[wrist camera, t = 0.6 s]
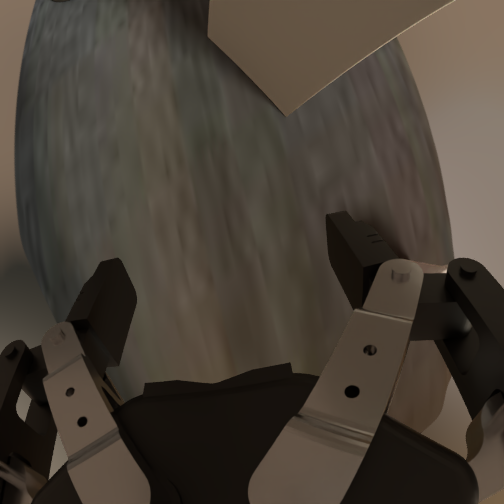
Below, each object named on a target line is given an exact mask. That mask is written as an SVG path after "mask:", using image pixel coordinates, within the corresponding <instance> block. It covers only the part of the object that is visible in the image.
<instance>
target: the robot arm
mask: <svg viewBox="0 0 504 504" xmlns="http://www.w3.org/2000/svg"><path fill="white" fill-rule="evenodd" d="M52 1H55V2H64V1H69V0H52ZM326 231H327V245H328V255H329V260H330V263H331V266H332V268H333V270H334V272H335V274H336V276H337V278H338V280H339V282H340V284H341V286H342V288H343V290H344V292H345V294H346V296H347V298H348V300H349V302H350V304H351V306H352V308H353V310H354V312H353V313H352V316H351V318H350V320H349V322H348V324H347V326H346V328H345V330H344V332H343V334H342V336H341V338H340V340H339V342H338V344H337V346H336V348H335V350H334V352H333V354H332V355H331V357H330V359H329V361H328V363H327V365H326V367H325V369H324V370H323V372H322V374H321V376H320V377H319V376H315V375H310V374H302V373H293V372H292V368H291V363H285V364H280V365H275V366H270V367H264V368H259V369H253V370H250V371H248V372H245V373H243V374H240V375H237V376H235V377H232V378H229V379H226V380H224V381H221V382H218V383H213V384H209V383H199V382H189V381H180V380H174V381H164V382H153V383H145V386H144V392H143V395H140V396H137V397H135V398H133V399H131V400H129V401H127V402H124V401H123V399H122V397H121V396H120V394H119V393H118V391H117V389H116V387H115V386H114V384H113V382H112V381H111V379H110V377H109V376H108V374H107V373H106V372H105V371H106V368H107V367H114V366H119V364H120V360H121V357H122V353H123V349H124V345H125V342H126V338H127V335H128V331H129V328H130V324H131V321H132V318H133V314H134V311H135V308H136V304H137V295H136V291H135V289H134V286H133V284H132V282H131V280H130V278H129V276H128V274H127V271H126V269H125V267H124V265H123V263H122V261H121V260H120V259H119V258H114V259H110V260H106V261H102V262H100V264H99V265H98V267H97V269H96V271H95V273H94V275H93V276H92V277H91V278H90V279H89V280H88V281H87V282H86V283H85V284H84V286H83V288H82V290H81V291H80V294H79V295H78V297H77V299H76V302H75V303H74V305H73V307H72V309H71V311H70V313H69V315H68V317H67V319H66V321H65V322H61V323H58V324H56V325H54V326H53V327H51V328H50V329H49V330H48V331H47V332H46V333H45V335H44V336H43V338H42V341H41V345H40V346H37V347H35V348H32V349H29V348H28V347H27V345H26V344H25V343H24V342H23V341H22V340H16V341H13V342H11V343H10V344H9V345H7V346H6V347H5V349H4V350H3V351H2V353H1V355H0V504H478V503H479V502H481V501H483V500H485V499H487V498H488V497H490V496H492V495H494V494H496V493H497V492H499V491H501V490H502V489H504V289H503V288H502V286H501V285H500V284H499V283H498V282H497V281H496V279H494V277H493V276H492V275H491V274H490V273H489V271H488V270H487V269H486V268H485V267H484V266H483V265H482V264H480V263H479V262H477V261H475V260H472V259H469V258H457V259H454V260H452V261H451V262H450V263H449V264H448V268H447V273H423V270H422V269H421V267H420V266H419V265H418V264H416V263H414V262H412V261H410V260H406V259H399V258H398V256H397V255H396V254H395V253H394V252H393V250H392V249H391V248H390V247H389V246H388V244H387V243H386V242H385V241H383V238H382V237H381V236H380V235H378V233H377V231H376V230H375V229H374V228H373V227H372V226H371V225H369V224H367V223H365V222H363V221H358V222H355V221H354V220H353V219H352V217H351V216H350V215H349V214H348V213H347V212H346V211H342V212H336V213H331V214H327V215H326ZM418 340H434V342H435V344H436V345H437V347H438V349H439V351H440V353H441V355H442V357H443V359H444V361H445V363H446V365H447V367H448V369H449V371H450V373H451V375H452V377H453V379H454V381H455V383H456V385H457V387H458V389H459V391H460V394H461V396H462V398H463V400H464V402H465V405H466V407H467V409H468V412H469V414H470V416H471V418H472V422H471V423H470V425H469V427H468V429H467V432H466V443H467V448H468V454H467V459H466V460H465V459H464V458H463V457H461V456H460V455H459V454H457V453H456V452H454V451H452V450H450V449H448V448H446V447H444V446H443V445H441V444H439V443H437V442H435V441H433V440H431V439H430V438H428V437H426V436H424V435H422V434H421V433H419V432H417V431H415V430H413V429H412V428H410V427H408V426H406V425H405V424H403V423H401V422H399V421H398V420H396V419H394V418H393V417H391V416H389V415H387V412H388V409H389V406H390V404H391V401H392V398H393V395H394V392H395V389H396V386H397V383H398V380H399V377H400V374H401V371H402V367H403V364H404V361H405V358H406V354H407V351H408V347H409V344H410V341H418ZM21 389H22V390H23V391H24V392H25V393H26V394H27V395H28V396H29V397H30V398H31V399H32V400H31V403H30V406H29V410H28V413H27V417H26V420H25V422H24V421H23V420H22V419H21V418H20V417H19V416H18V414H17V411H16V403H17V400H18V397H19V394H20V391H21ZM57 431H58V432H59V435H60V438H61V440H62V443H63V445H64V448H65V451H66V453H67V456H68V461H67V462H66V463H65V464H64V465H63V466H62V467H61V468H60V469H59V470H58V471H57V472H56V473H55V474H54V475H53V476H52V477H51V479H49V473H50V467H51V461H52V456H53V450H54V445H55V441H56V436H57ZM48 479H49V480H48Z"/></svg>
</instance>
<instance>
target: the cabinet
mask: <svg viewBox="0 0 504 504" xmlns="http://www.w3.org/2000/svg"><path fill="white" fill-rule="evenodd" d="M454 1H455V0H210V3H209V18H208V35H207V37H208V38H209V39H210V40H211V41H213V42H214V43H215V44H216V45H217V46H218V47H219V48H220V49H221V50H222V51H223V52H224V53H225V54H226V55H227V56H228V57H229V58H230V59H231V60H232V61H233V62H234V63H235V64H236V65H237V66H238V67H239V68H240V69H241V70H242V71H243V72H244V73H245V74H246V75H247V76H248V77H249V78H250V79H251V80H252V81H253V82H254V83H255V84H256V85H257V86H258V87H259V88H260V89H261V90H262V91H263V92H264V93H265V94H266V96H267V97H268V98H269V99H270V100H271V101H272V102H273V103H274V104H275V105H276V106H277V107H278V109H279V110H280V111H281V112H282V113H283V114H284V115H285V116H286V117H287V116H288V115H289V114H291V113H292V112H293V111H294V110H296V109H297V108H298V107H300V106H301V105H302V104H303V103H305V102H306V101H307V100H309V99H310V98H311V97H312V96H314V95H315V94H316V93H318V92H319V91H320V90H322V89H323V88H324V87H326V86H327V85H328V84H330V83H331V82H332V81H334V80H335V79H336V78H338V77H339V76H340V75H342V74H343V73H345V72H346V71H347V70H349V69H350V68H351V67H353V66H354V65H356V64H357V63H359V62H360V61H361V60H363V59H364V58H366V57H367V56H369V55H370V54H371V53H373V52H374V51H376V50H377V49H379V48H380V47H382V46H383V45H385V44H386V43H388V42H389V41H391V40H392V39H394V38H395V37H397V36H398V35H400V34H401V33H403V32H404V31H406V30H407V29H409V28H410V27H412V26H414V25H415V24H417V23H418V22H420V21H422V20H423V19H425V18H427V17H428V16H430V15H431V14H433V13H435V12H436V11H438V10H440V9H441V8H443V7H445V6H447V5H448V4H450V3H452V2H454Z"/></svg>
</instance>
